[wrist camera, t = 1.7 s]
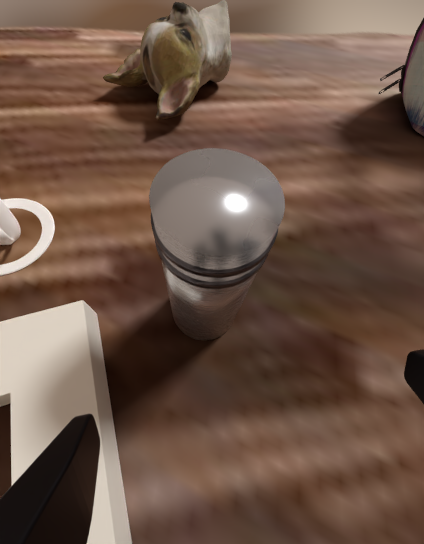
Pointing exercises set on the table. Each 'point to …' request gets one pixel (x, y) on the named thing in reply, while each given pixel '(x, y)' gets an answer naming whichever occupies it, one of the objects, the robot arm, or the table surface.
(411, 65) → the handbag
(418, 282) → the table surface
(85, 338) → the square hole plate
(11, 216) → the teacup and saucer
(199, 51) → the ceramic sculpture
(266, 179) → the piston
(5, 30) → the table surface
